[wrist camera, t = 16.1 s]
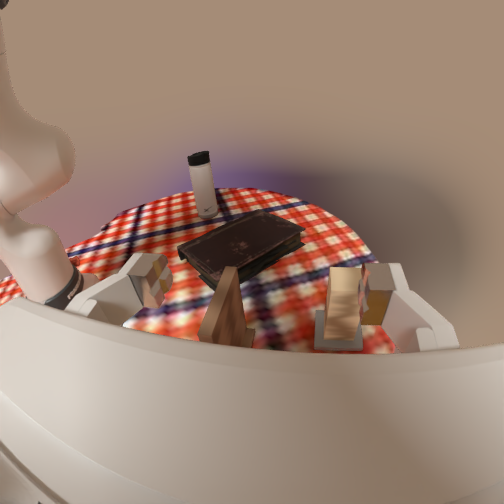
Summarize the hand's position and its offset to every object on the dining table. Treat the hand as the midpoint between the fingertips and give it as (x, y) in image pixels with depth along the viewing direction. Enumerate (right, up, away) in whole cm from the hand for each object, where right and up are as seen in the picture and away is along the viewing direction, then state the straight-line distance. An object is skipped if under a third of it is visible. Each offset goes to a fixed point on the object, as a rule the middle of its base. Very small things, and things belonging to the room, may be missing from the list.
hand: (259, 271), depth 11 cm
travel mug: (-14, +12, +73) cm, 75 cm away
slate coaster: (+14, -13, +32) cm, 38 cm away
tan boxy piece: (+14, -12, +32) cm, 37 cm away
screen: (-3, -16, +30) cm, 34 cm away
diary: (-2, 0, +55) cm, 55 cm away
